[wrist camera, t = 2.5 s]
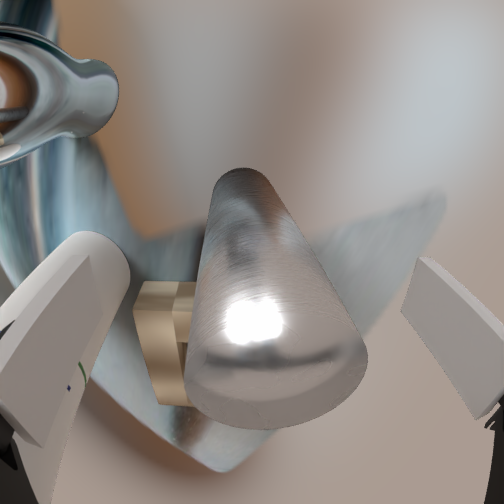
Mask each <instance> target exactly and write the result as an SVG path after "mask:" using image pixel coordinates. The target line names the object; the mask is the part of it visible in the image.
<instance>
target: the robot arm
mask: <svg viewBox="0 0 504 504" xmlns="http://www.w3.org/2000/svg"><path fill="white" fill-rule="evenodd" d="M401 312H402V313H403V315H404V316H405V317H406V318H407V320H408V321H409V323H410V324H411V325H412V327H413V328H414V329H415V331H416V332H417V333H418V335H419V336H420V338H421V339H422V340H423V342H424V343H425V344H426V346H427V347H428V349H429V350H430V351H431V353H432V354H433V356H434V357H435V359H436V360H437V361H438V363H439V364H440V366H441V367H442V369H443V370H444V372H445V373H446V375H447V376H448V377H449V379H450V380H451V382H452V384H453V385H454V387H455V388H456V390H457V391H458V393H459V394H460V396H461V398H462V399H463V401H464V402H465V404H466V406H467V407H468V409H469V410H470V412H471V414H472V415H473V417H474V419H475V420H477V419H479V418H481V417H483V416H485V415H487V414H488V413H489V412H490V411H491V410H492V409H493V407H494V406H495V405H496V404H497V402H499V404H500V405H501V406H500V407H499V409H498V410H497V411H496V412H495V413H494V415H493V416H492V417H491V418H490V419H489V420H488V421H487V423H486V424H485V427H484V428H487V427H488V426H489V425H490V424H491V423H492V422H493V421H495V423H494V424H493V425H492V426H491V427H490V430H494V431H495V438H494V448H493V456H492V464H491V471H490V477H489V482H488V487H487V492H486V497H485V501H484V504H504V325H503V324H502V323H501V322H500V321H499V320H498V319H497V318H496V317H495V316H494V315H493V314H492V313H491V312H490V311H489V310H488V309H487V308H486V307H485V306H484V305H483V304H482V303H481V302H480V301H479V300H478V299H477V298H476V297H475V296H474V295H473V294H472V293H471V292H470V291H469V290H467V289H466V288H465V287H464V286H463V285H462V284H461V283H460V282H459V281H458V280H456V279H455V278H454V277H453V276H452V275H451V274H450V273H448V272H447V271H446V270H445V269H444V268H443V267H441V266H440V265H439V264H438V263H437V262H436V261H434V260H433V259H432V258H431V257H418V258H417V262H416V265H415V269H414V272H413V275H412V279H411V282H410V285H409V288H408V291H407V294H406V297H405V300H404V303H403V306H402V309H401ZM102 315H103V312H102V309H101V305H100V301H99V297H98V293H97V289H96V285H95V281H94V277H93V272H92V268H91V263H90V258H89V255H72V256H71V257H70V258H69V259H68V260H67V261H66V262H65V263H64V264H63V265H62V266H61V267H60V269H59V270H58V271H57V272H56V273H55V274H54V275H53V276H52V277H51V278H50V279H49V281H48V282H47V283H46V284H45V285H44V286H43V287H42V288H41V290H40V291H39V292H38V293H37V294H36V295H35V297H34V298H33V299H32V300H31V301H30V303H29V304H28V305H27V306H26V307H25V309H24V310H23V311H22V312H21V314H20V315H19V316H18V317H17V319H16V320H14V321H12V322H11V323H10V324H8V325H7V326H6V327H4V328H3V329H2V331H1V332H0V504H39V503H38V501H37V499H36V496H35V494H34V492H33V489H32V487H31V484H30V482H29V479H28V477H27V474H26V471H25V468H24V465H23V462H22V459H21V456H20V453H19V450H18V447H17V444H16V442H15V440H14V439H13V438H12V436H13V434H14V431H15V432H16V433H17V434H18V435H19V436H20V437H21V438H22V439H23V440H24V441H25V442H27V443H30V444H32V445H35V446H37V447H40V448H43V449H44V446H45V443H46V441H47V438H48V435H49V432H50V430H51V427H52V424H53V422H54V419H55V416H56V414H57V411H58V409H59V406H60V404H61V402H62V399H63V397H64V394H65V392H66V390H67V387H68V385H69V383H70V381H71V378H72V376H73V374H74V372H75V370H76V367H77V365H78V363H79V361H80V359H81V357H82V355H83V353H84V351H85V349H86V347H87V345H88V343H89V341H90V339H91V337H92V335H93V333H94V331H95V329H96V327H97V325H98V323H99V321H100V319H101V317H102Z"/></svg>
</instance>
